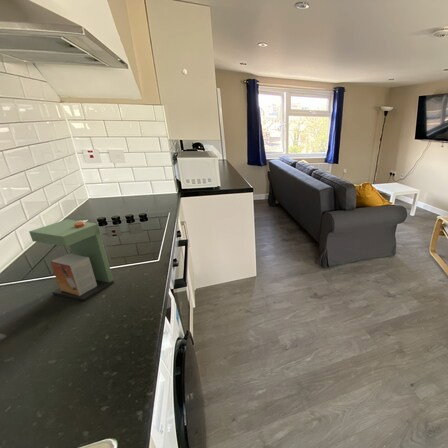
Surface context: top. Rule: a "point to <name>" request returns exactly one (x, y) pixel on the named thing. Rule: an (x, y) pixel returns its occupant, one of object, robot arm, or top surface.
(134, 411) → the top surface
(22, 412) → the top surface
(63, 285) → the small box
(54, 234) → the coffee maker
